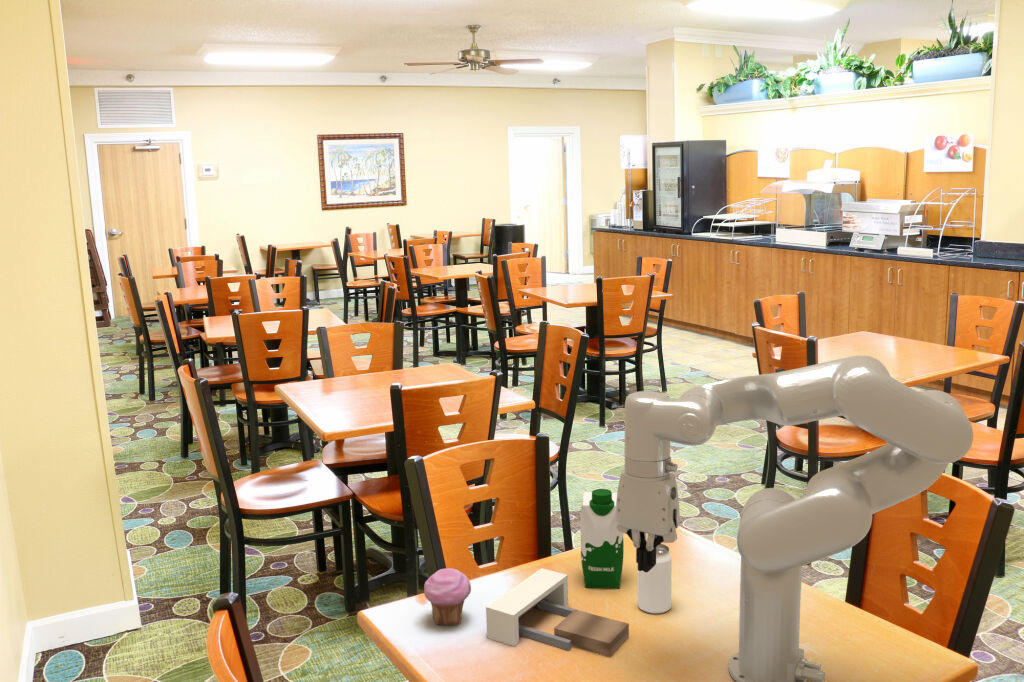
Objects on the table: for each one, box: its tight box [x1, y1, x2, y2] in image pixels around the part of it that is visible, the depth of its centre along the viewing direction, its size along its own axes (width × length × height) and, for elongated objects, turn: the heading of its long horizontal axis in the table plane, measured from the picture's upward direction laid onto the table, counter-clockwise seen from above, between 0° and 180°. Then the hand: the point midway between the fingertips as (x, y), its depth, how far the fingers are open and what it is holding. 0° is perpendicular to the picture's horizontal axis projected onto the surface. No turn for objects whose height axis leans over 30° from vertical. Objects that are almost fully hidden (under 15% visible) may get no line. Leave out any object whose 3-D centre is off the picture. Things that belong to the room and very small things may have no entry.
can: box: [636, 543, 673, 615], centre depth 167 cm, size 6×6×12 cm
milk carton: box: [580, 488, 625, 589], centre depth 178 cm, size 9×9×20 cm
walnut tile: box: [553, 609, 630, 658], centre depth 156 cm, size 11×8×3 cm
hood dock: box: [485, 567, 599, 652], centre depth 161 cm, size 15×19×6 cm
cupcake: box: [423, 567, 472, 626], centre depth 164 cm, size 9×9×10 cm
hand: (646, 568), depth 148 cm, fingers closed
